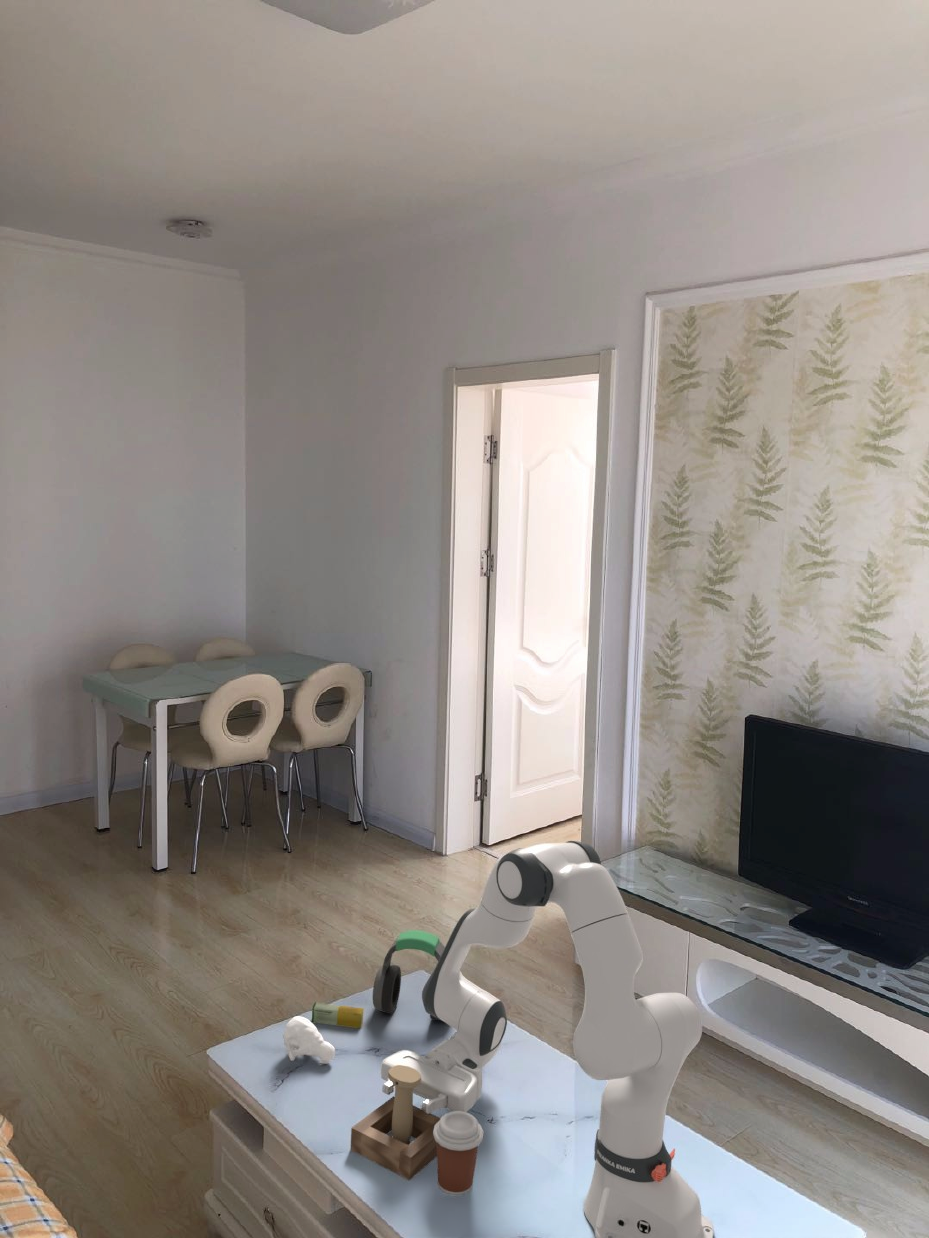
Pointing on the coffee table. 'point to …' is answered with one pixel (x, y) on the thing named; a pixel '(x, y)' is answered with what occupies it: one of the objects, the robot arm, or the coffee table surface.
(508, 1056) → the coffee table surface
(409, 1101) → the handle
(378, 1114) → the socket block
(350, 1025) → the medication box
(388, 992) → the headphones
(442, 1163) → the coffee cup
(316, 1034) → the white lumpy rounded piece
